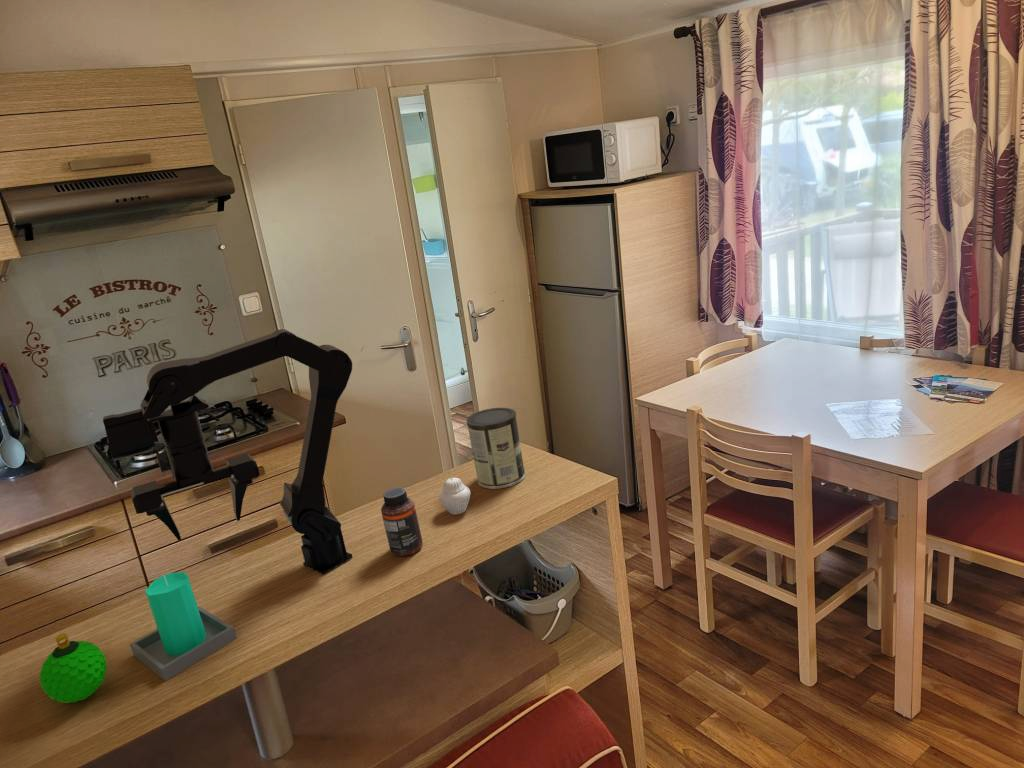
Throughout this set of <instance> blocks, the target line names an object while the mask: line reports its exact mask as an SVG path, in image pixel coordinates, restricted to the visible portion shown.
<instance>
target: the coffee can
mask: <svg viewBox="0 0 1024 768" xmlns="http://www.w3.org/2000/svg"><path fill="white" fill-rule="evenodd" d="M465 421H466V425H467V429H468V433H469V434H468V435H469V439H470V441H469V442H470V444H471V451H472V456H473V462H474V467H475V472H476V473H475V474H476V478H477V483H478V486H480V487H481V488H483V489H489V490H490V489H491V490H498V489H499V490H500V489H506V488H509V487H513V486H515V485H517V484H519V483H520V482H522V481H523V480H524V479H525V478H526V472H525V467H524V466H525V465H524V460H523V455H522V453H523V452H522V448H521V447H522V446H521V441H520V437H519V430H518V429H519V428H518V424H517V413H516V411H515V409H512V408H508V407H491V408H486V409H482V410H480V411H477V412H473V413H472V414H470V415H469V416H468V417H467V418H466V420H465Z"/></svg>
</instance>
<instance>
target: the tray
mask: <svg viewBox="0 0 1024 768" xmlns="http://www.w3.org/2000/svg"><path fill="white" fill-rule="evenodd" d="M197 606H198V605H197ZM198 610H199V613H200V616H201V619H202V623H203V626H204V629H205V632H206V638H205V641H204V642H203V643H201V644H200V645H198V646H196V647H195V648H193V649H191V650H190V651H188V652H186V653H184V654H180V655H168V654H167V653H166V651H165V650H164V647H163V644H162V641H161V638H160V634H159V631H158V628H156V629H154V630H153V631H151V632H149V633H148V634H146V635H143V636H142V637H140V638H138V639H136V640H134V641H133V642H132V643H129V647H130V650H131V651H132V654H133V656H134V657H135V659H138V661H140V662H141V663H142V664H143V665H145V666H147V668H148V669H150V670H151V671H153V672H154V674H156V675H158V677H160V678H161V679H162V680H164V681H165V682H167V681H168V680H170V679H171V678H173V677H175V676H176V675H178V674H180V673H182V672H183V671H185V670H186V669H188V668H190V667H191V666H193V665H194V664H196V663H198V662H200V661H201V660H204V658H206V657H208V656H209V655H211V654H213V653H214V652H217V651H218V650H219V649H221V648H223V647H224V646H226V645H228V644H229V643H232V642H233V641H234V640H236V639H237V635H236V631H235V627H234V626H233V625H231V624H229V623H227V622H226V621H225V620H223V619H221V618H219V617H218V616H216V615H214V614H213V613H211V612H209V611H208V610H206V609H204V608H203V607H201V606H200V605H199V606H198Z"/></svg>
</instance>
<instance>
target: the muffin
mask: <svg viewBox="0 0 1024 768" xmlns="http://www.w3.org/2000/svg"><path fill="white" fill-rule="evenodd" d="M438 495H439V496H438V499H439V501H440V502H441V505H443V507H444V508H445V509H446V511H447V512H448V513H449V514H450V515H456V516H457V515H461V514H463V513H465V511H467V508H468V505H469V501H470V499H471V489H470V488H469V487H468V486H467V485H465V484H464V483H463V482H462V480H461V479H460V478H458V477H450V478H447V479H446V480H445V481H444V482H443V488H442V489H441V491H440V492H439V494H438Z"/></svg>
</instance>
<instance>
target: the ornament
mask: <svg viewBox="0 0 1024 768" xmlns="http://www.w3.org/2000/svg"><path fill="white" fill-rule="evenodd" d="M61 641H63V642H61ZM55 642H56V643H57V646H56V647H55V648H54V650H52V652H50V653H49V655H48V656H47V658H45V661H44V662H43V663H42V665H41V670H40V672H39V681H40V682H39V683H40V686H41V688H42V691H43V692H44V693H45V694H46V696H47V695H48V697H49V698H50V699H52V700H53V701H57V702H58V703H66V704H69V703H77V702H78V701H84V700H85V699H87V698H88V697H91V696H92V695H93V693H95V692H96V691H98V689H99V687H100V686H101V685H102V684H103V682H104V680H105V676H107V670H108V669H107V666H108V663H107V660H106V656H105V654H104V653H103V651H101V648H100V647H98V646H96V645H95V644H94V643H92V642H90V641H89V642H88V641H84V640H77V641H76V640H70V641H69V637H68V635H67V633H63V632H61V633H59V634H57V635H56V636H55Z"/></svg>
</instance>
